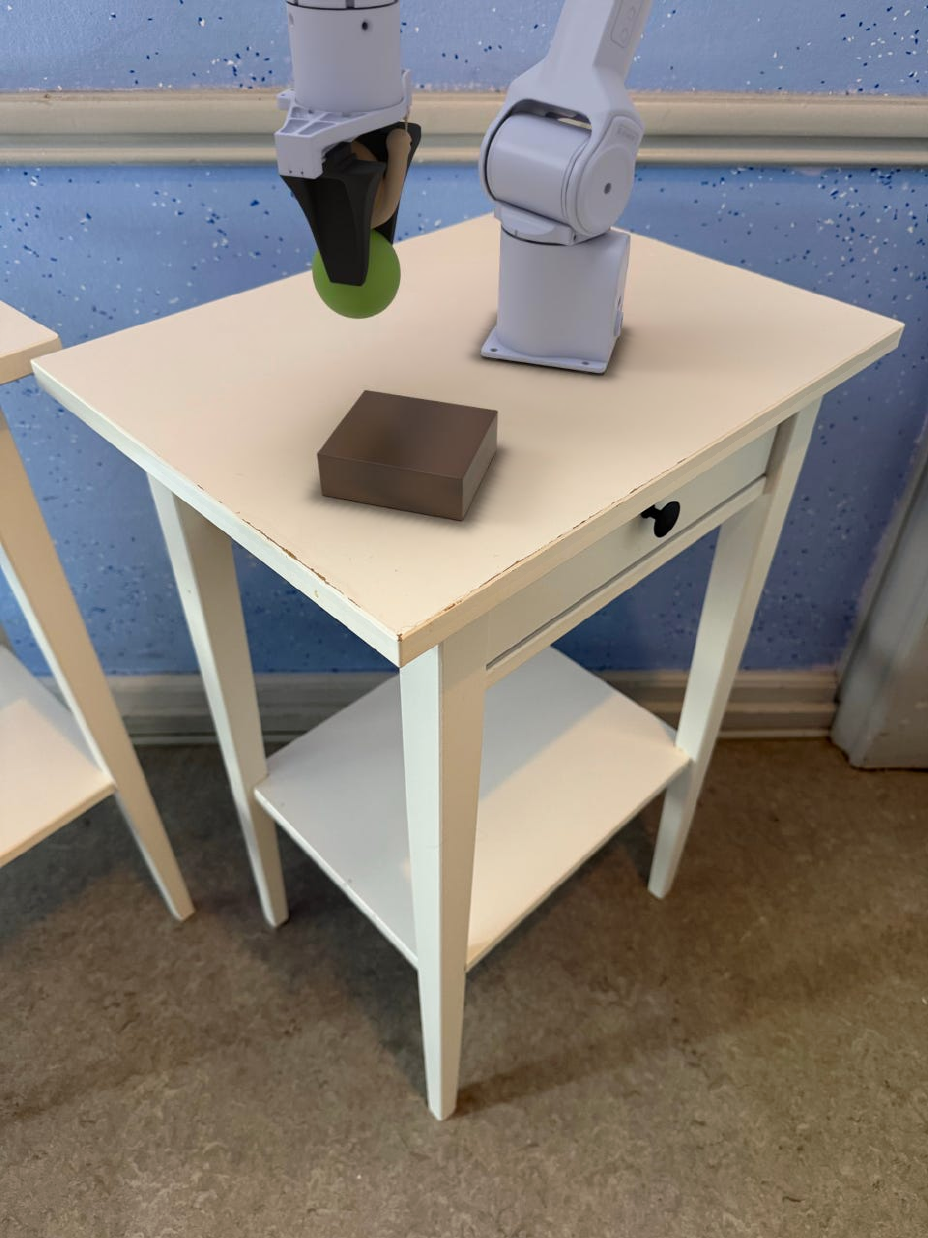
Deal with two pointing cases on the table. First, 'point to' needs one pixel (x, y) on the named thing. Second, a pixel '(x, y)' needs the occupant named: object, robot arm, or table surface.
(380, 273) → the snail figurine
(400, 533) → the table surface
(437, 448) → the walnut block
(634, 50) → the robot arm
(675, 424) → the table surface
